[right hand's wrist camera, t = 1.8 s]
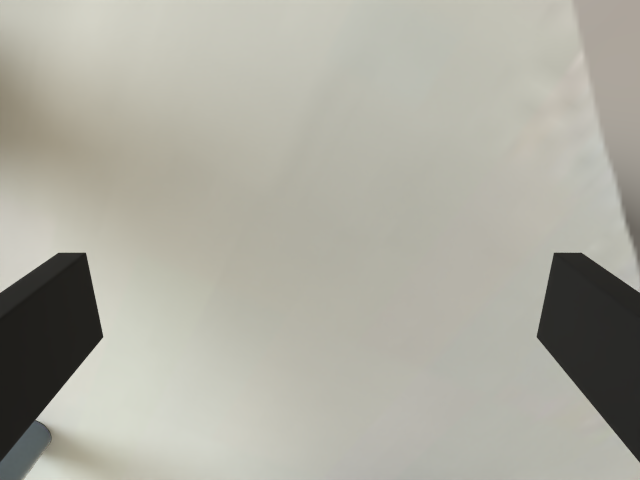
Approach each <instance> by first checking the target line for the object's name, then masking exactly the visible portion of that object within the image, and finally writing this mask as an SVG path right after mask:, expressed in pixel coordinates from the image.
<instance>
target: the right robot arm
mask: <svg viewBox="0 0 640 480" xmlns="http://www.w3.org/2000/svg"><path fill="white" fill-rule="evenodd" d="M102 338H103V333H102V328H101V324H100V319H99V314H98V309H97V304H96V299H95V294H94V290H93V285H92V280H91V275H90V270H89V265H88V260H87V256H86V253H58V254H56V255H55V256H53V257H52V258H50V259H49V260H47V261H46V262H45V263H43V264H42V265H40V266H39V267H37V268H36V269H34V270H33V271H31V272H30V273H29V274H27V275H26V276H24V277H23V278H21V279H20V280H18V281H17V282H15V283H14V284H13V285H11V286H10V287H8V288H7V289H5V290H4V291H2V292H1V293H0V462H1V461H2V460H3V458H4V457H5V456H6V455H7V454H8V452H9V451H10V450H11V449H12V447H13V446H14V445H15V444H16V443H17V441H18V440H19V439H20V438H21V437H22V435H23V434H24V433H25V432H26V430H27V429H28V428H29V427H30V426H31V424H32V423H33V422H34V421H35V419H36V418H37V417H38V416H39V415H40V413H41V412H42V411H43V410H44V409H45V407H46V406H47V405H48V404H49V402H50V401H51V400H52V399H53V398H54V396H55V395H56V394H57V393H58V391H59V390H60V389H61V388H62V387H63V385H64V384H65V383H66V382H67V381H68V379H69V378H70V377H71V376H72V374H73V373H74V372H75V371H76V370H77V368H78V367H79V366H80V365H81V363H82V362H83V361H84V360H85V359H86V357H87V356H88V355H89V354H90V353H91V351H92V350H93V349H94V348H95V346H96V345H97V344H98V343H99V342H100V340H101V339H102ZM537 338H538V339H539V340H540V342H541V343H542V344H543V345H544V346H545V348H546V349H547V350H548V351H549V353H550V354H551V355H552V356H553V357H554V359H555V360H556V361H557V362H558V363H559V365H560V366H561V367H562V368H563V370H564V371H565V372H566V373H567V374H568V376H569V377H570V378H571V379H572V381H573V382H574V383H575V384H576V385H577V387H578V388H579V389H580V390H581V391H582V393H583V394H584V395H585V396H586V398H587V399H588V400H589V401H590V402H591V404H592V405H593V406H594V407H595V409H596V410H597V411H598V412H599V413H600V415H601V416H602V417H603V418H604V419H605V421H606V422H607V423H608V424H609V426H610V427H611V428H612V429H613V430H614V432H615V433H616V434H617V435H618V437H619V438H620V439H621V440H622V441H623V443H624V444H625V445H626V446H627V447H628V449H629V450H630V451H631V452H632V454H633V455H634V456H635V457H636V458H637V460H638V461H639V462H640V293H639V292H638V291H636V290H635V289H633V288H632V287H630V286H629V285H627V284H626V283H625V282H623V281H622V280H620V279H619V278H617V277H616V276H614V275H613V274H611V273H610V272H609V271H607V270H606V269H604V268H603V267H601V266H600V265H598V264H597V263H595V262H594V261H593V260H591V259H590V258H588V257H587V256H585V255H584V254H582V253H554V256H553V260H552V265H551V270H550V275H549V280H548V285H547V290H546V294H545V299H544V304H543V309H542V314H541V319H540V324H539V328H538V333H537Z"/></svg>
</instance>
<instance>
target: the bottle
mask: <svg viewBox="0 0 640 480" xmlns="http://www.w3.org/2000/svg"><path fill="white" fill-rule="evenodd" d="M50 442H51V435H50V432H49V431H48V429H47V428H46V427H45V426H44V425H43V424H41V423H39V422H37V421H34V422H33V423H32V424H31V426H30V427H29V428H28V429H27V430H26V432H25V433H24V434H23V435H22V437H21V438H20V439H19V440H18V441H17V443H16V444H15V445H14V446H13V447H12V449H11V450H10V451H9V452H8V454H7V455H6V456H5V457H4V458H3V460H2V461H1V462H0V480H24V479H25V477H26V476H27V474H28V473H29V472H30V470H31V469H32V468H33V466H34V465H35V463H36V462H37V461H38V459H39V458H40V457H41V455H42V454H43V453H44V451H45V450H46V448H47V447H48V446H49V444H50Z"/></svg>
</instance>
